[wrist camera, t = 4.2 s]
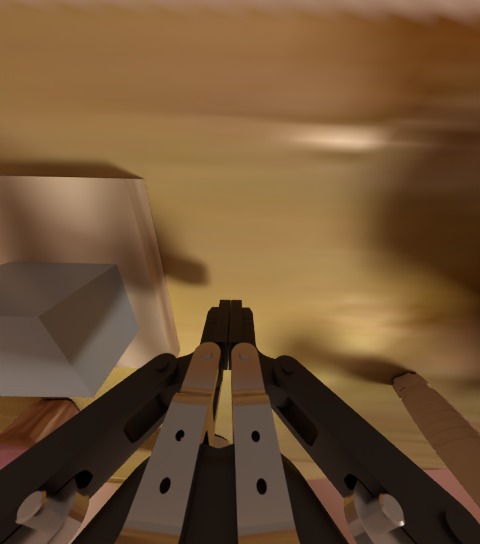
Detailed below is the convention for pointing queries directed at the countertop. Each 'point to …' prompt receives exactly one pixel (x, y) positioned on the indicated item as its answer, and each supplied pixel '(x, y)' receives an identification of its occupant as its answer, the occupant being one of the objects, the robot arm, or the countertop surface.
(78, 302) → the matte grey cube
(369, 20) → the countertop surface
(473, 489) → the handle
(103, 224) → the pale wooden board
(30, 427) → the cupcake
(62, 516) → the robot arm
